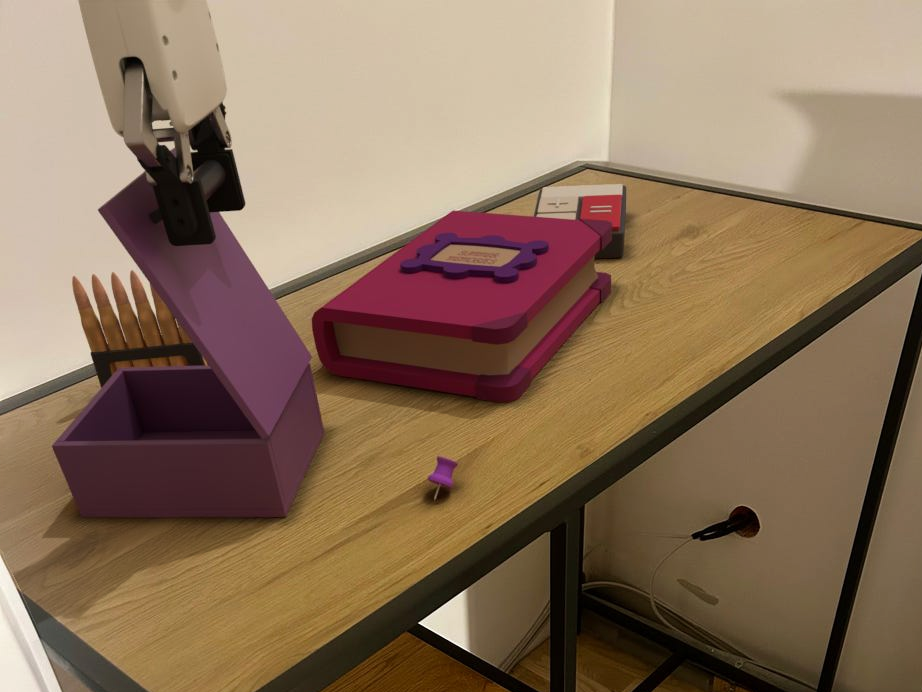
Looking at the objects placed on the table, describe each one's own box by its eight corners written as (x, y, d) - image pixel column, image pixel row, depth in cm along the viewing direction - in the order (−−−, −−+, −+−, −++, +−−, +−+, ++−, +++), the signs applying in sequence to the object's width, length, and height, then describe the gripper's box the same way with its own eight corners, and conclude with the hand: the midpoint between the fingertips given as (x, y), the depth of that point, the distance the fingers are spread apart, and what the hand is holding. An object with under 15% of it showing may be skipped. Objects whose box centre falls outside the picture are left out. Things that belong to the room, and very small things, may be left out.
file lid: (96, 209, 61) (151, 176, 59) (169, 150, 71) (219, 120, 69) (262, 440, 71) (313, 417, 69) (305, 359, 81) (351, 338, 79)
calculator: (528, 229, 111) (539, 182, 121) (530, 266, 114) (540, 216, 124) (624, 226, 109) (626, 178, 119) (623, 263, 112) (625, 213, 122)
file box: (81, 517, 78) (50, 445, 74) (142, 435, 88) (118, 367, 84) (285, 517, 76) (266, 443, 71) (324, 432, 86) (310, 362, 81)
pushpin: (423, 497, 76) (419, 464, 74) (444, 479, 78) (440, 446, 76) (445, 503, 76) (441, 470, 74) (465, 485, 77) (462, 452, 75)
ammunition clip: (216, 383, 95) (182, 261, 87) (213, 391, 94) (178, 269, 86) (109, 393, 95) (66, 273, 87) (105, 402, 94) (60, 280, 86)
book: (320, 374, 95) (305, 299, 90) (447, 270, 113) (440, 202, 108) (513, 404, 87) (508, 324, 82) (616, 287, 105) (617, 215, 100)
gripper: (121, -97, 63) (199, 191, 75) (-7, -67, 50) (112, 275, 62) (229, -110, 62) (291, 185, 74) (127, -82, 49) (222, 269, 61)
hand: (209, 223), depth 68 cm, fingers closed on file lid, 6 cm apart
